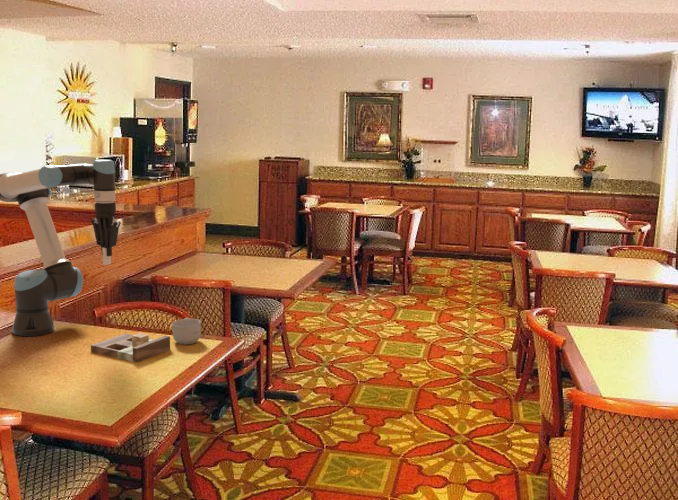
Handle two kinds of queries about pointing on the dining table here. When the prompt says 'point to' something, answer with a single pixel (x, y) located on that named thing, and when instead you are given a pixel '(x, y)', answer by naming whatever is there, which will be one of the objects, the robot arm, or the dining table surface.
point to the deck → (131, 348)
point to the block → (139, 339)
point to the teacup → (186, 331)
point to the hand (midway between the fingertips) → (107, 264)
